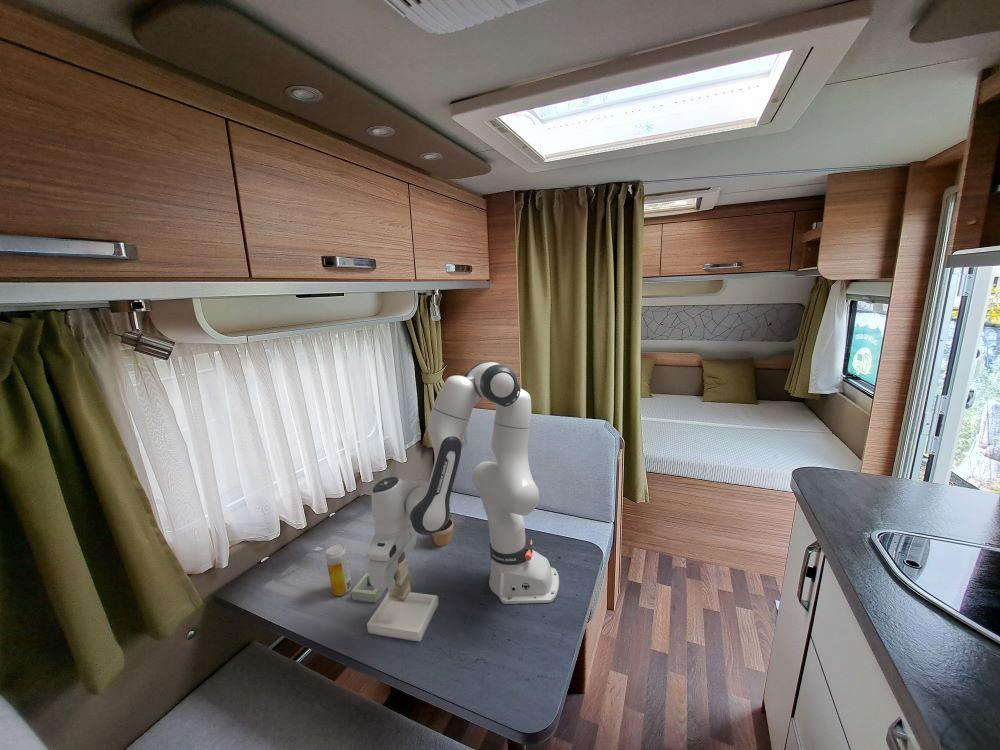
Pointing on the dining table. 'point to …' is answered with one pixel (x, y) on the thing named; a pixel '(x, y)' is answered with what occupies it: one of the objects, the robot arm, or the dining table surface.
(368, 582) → the socket block
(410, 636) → the tray
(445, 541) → the potted plant
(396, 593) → the wooden pepper mill
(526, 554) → the robot arm
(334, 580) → the orange pill bottle
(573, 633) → the dining table surface
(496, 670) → the dining table surface
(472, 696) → the dining table surface
